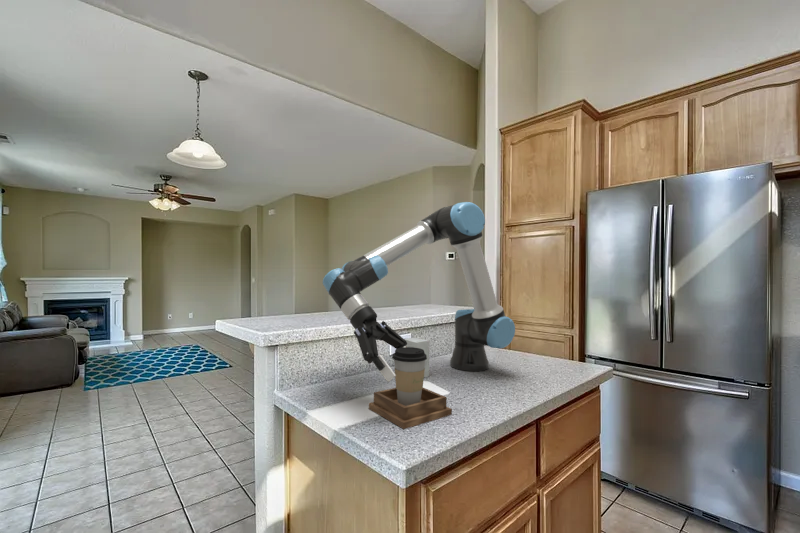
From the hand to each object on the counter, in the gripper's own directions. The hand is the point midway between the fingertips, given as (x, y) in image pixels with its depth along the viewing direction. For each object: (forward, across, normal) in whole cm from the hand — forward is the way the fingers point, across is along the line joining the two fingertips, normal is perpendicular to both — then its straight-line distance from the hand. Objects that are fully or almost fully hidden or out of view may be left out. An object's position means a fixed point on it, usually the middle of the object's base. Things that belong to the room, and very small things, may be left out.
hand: (404, 372), depth 100 cm
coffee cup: (+7, 0, -5) cm, 9 cm away
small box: (-1, -32, -16) cm, 36 cm away
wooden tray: (+8, 0, -6) cm, 10 cm away
